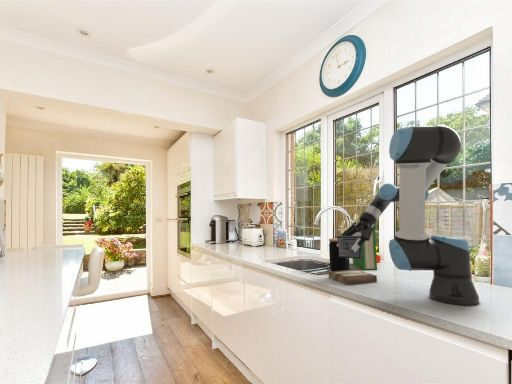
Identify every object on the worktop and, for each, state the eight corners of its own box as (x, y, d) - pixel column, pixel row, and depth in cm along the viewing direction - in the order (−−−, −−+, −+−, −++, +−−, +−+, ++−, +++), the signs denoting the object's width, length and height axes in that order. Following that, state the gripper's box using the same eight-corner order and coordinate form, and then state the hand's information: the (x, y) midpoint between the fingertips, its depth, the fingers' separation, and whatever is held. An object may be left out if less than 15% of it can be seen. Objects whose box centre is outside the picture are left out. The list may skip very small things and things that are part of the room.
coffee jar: (351, 273, 150) (349, 240, 151) (330, 273, 152) (329, 240, 154) (348, 269, 160) (347, 238, 162) (329, 269, 163) (328, 238, 164)
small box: (363, 257, 138) (362, 235, 138) (360, 259, 132) (359, 236, 133) (341, 255, 143) (340, 235, 144) (338, 257, 138) (337, 236, 138)
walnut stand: (376, 282, 131) (376, 275, 131) (347, 285, 126) (347, 278, 127) (355, 275, 146) (355, 268, 147) (328, 277, 142) (328, 271, 142)
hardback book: (377, 270, 158) (375, 227, 160) (364, 270, 158) (362, 227, 160) (364, 264, 175) (362, 226, 177) (353, 264, 175) (351, 226, 177)
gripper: (392, 222, 132) (366, 257, 126) (359, 220, 155) (336, 250, 149) (382, 211, 131) (356, 246, 125) (351, 211, 154) (327, 241, 148)
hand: (345, 248), depth 137 cm, fingers closed on small box, 11 cm apart
